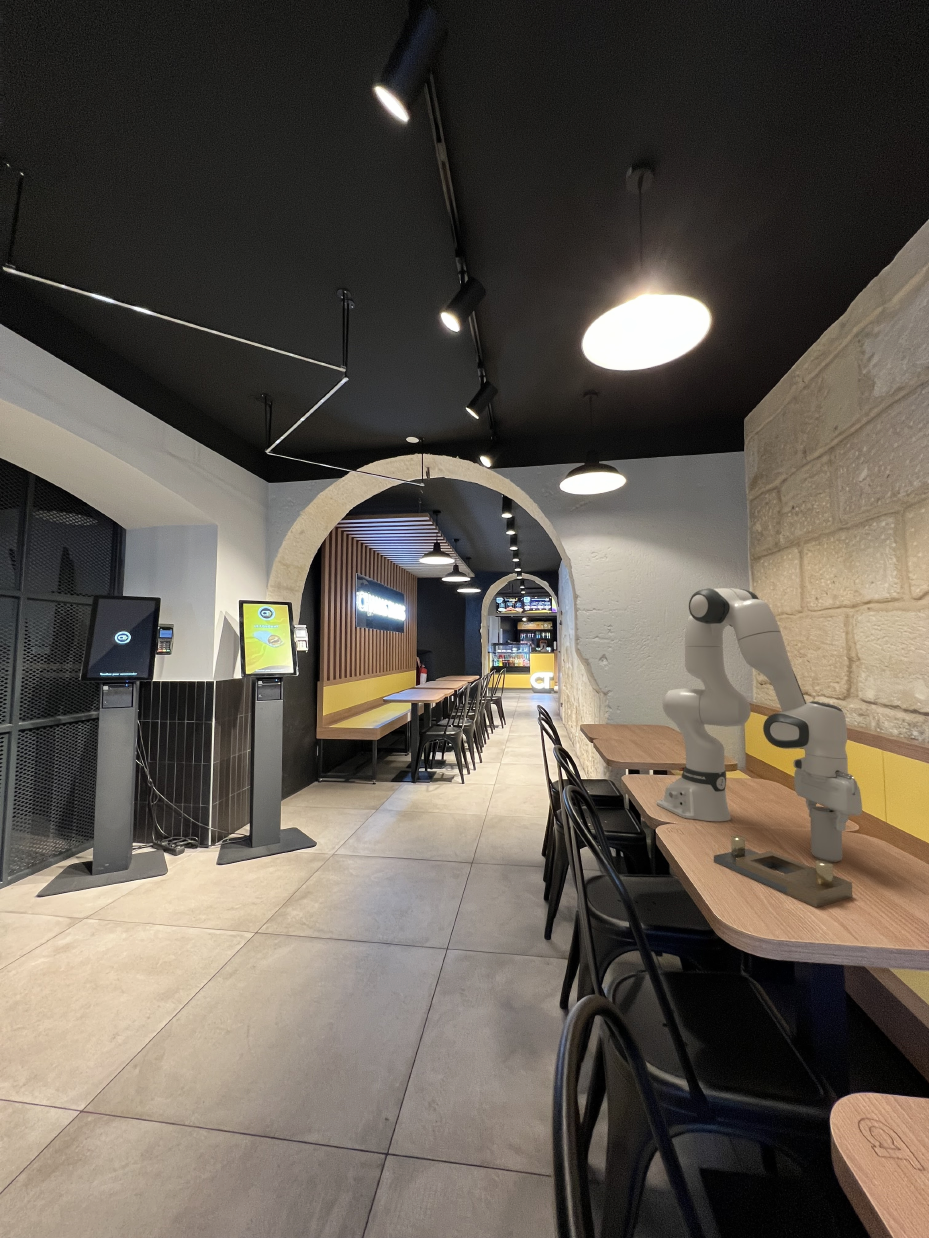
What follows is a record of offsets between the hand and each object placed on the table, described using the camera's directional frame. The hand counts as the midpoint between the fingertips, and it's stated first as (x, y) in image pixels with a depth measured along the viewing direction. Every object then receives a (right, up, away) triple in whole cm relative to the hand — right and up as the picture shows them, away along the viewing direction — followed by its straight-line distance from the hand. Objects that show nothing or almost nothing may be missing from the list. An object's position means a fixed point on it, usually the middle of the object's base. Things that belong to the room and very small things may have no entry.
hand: (826, 824), depth 128 cm
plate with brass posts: (-19, -8, -12) cm, 24 cm away
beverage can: (0, -9, 0) cm, 9 cm away
